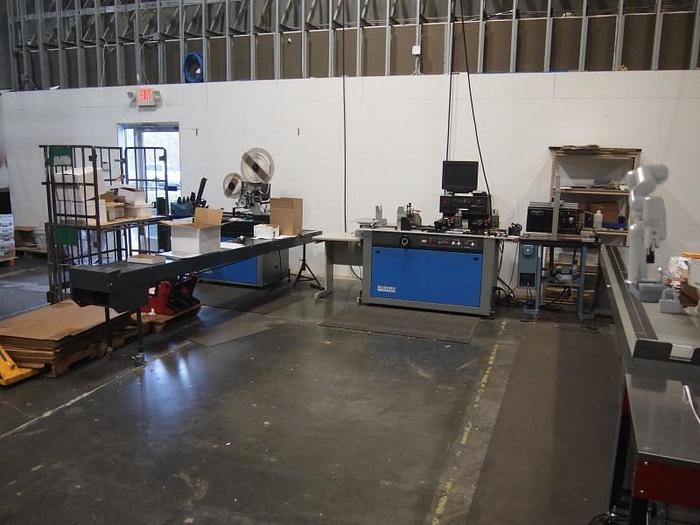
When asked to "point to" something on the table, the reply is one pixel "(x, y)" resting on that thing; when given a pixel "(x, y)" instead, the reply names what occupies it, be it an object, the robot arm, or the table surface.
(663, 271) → the cable arm
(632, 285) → the chassis
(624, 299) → the table surface
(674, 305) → the padlock
